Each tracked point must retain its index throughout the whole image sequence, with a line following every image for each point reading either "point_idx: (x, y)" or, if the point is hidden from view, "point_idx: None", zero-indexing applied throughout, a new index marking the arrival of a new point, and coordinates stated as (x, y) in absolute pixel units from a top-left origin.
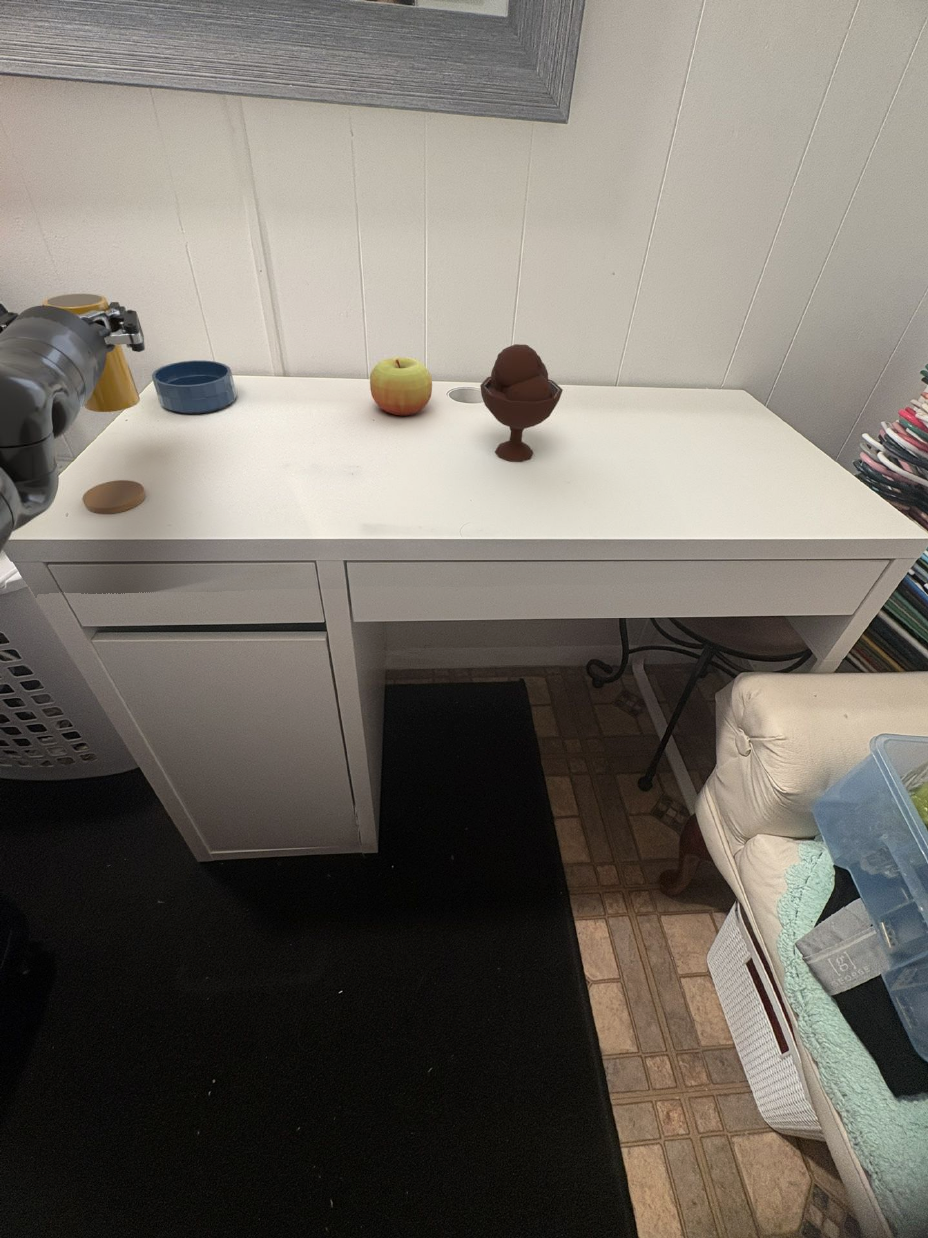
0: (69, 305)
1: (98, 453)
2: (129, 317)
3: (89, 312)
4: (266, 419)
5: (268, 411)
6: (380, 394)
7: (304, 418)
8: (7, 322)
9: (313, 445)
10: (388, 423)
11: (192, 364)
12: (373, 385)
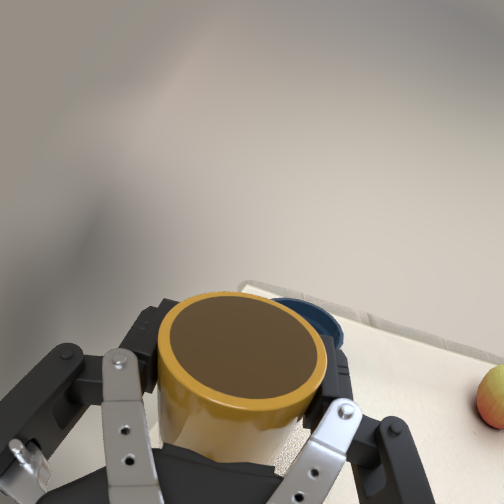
0: (232, 385)
1: (154, 436)
2: (410, 481)
3: (303, 466)
4: (370, 415)
5: (369, 396)
6: (497, 412)
7: (411, 421)
8: (36, 414)
9: (430, 487)
10: (487, 440)
11: (294, 303)
12: (493, 400)
